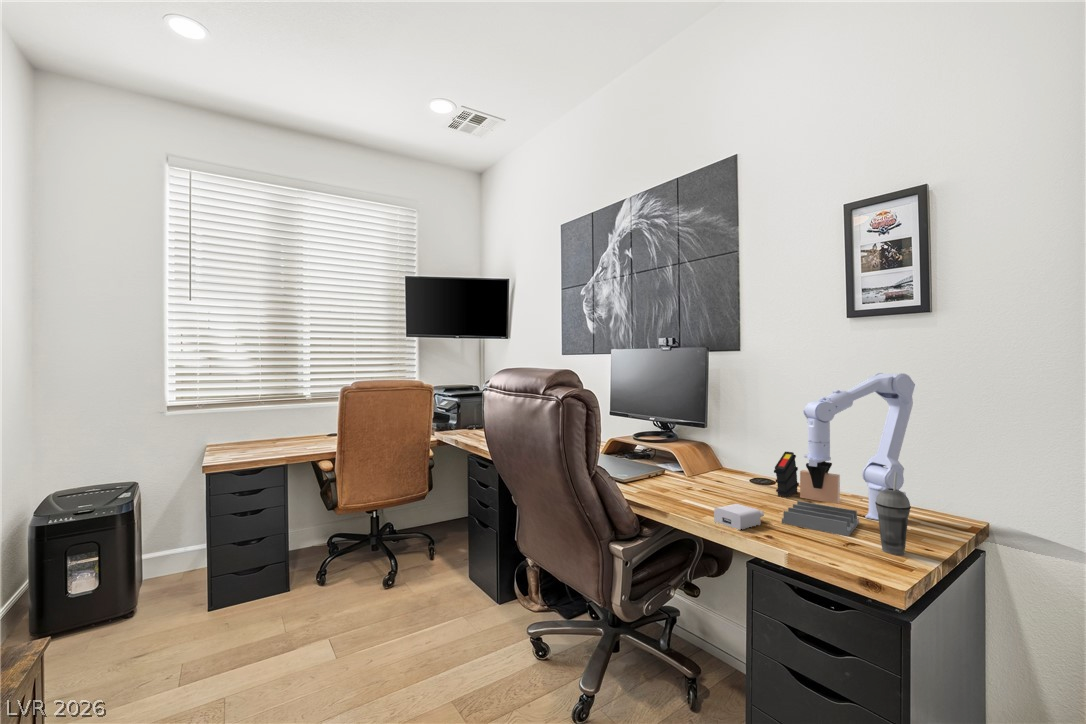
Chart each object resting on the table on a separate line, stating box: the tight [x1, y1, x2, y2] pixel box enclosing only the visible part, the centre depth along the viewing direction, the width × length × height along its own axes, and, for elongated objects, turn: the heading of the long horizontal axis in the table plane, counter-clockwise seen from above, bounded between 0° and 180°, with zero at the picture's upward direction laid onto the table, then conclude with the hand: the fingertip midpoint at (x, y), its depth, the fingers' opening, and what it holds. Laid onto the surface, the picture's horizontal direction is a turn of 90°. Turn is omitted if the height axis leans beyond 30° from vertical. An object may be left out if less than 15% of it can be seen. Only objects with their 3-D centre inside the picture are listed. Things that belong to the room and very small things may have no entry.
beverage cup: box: [875, 472, 911, 556], centre depth 123 cm, size 7×7×20 cm
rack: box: [781, 500, 860, 537], centre depth 145 cm, size 17×15×4 cm
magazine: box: [773, 451, 800, 498], centre depth 178 cm, size 4×13×15 cm, turn 133°
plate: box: [799, 469, 841, 505], centre depth 148 cm, size 10×3×8 cm, turn 48°
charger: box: [713, 503, 765, 531], centre depth 146 cm, size 5×9×15 cm
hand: (819, 487), depth 148 cm, fingers closed on plate, 3 cm apart
